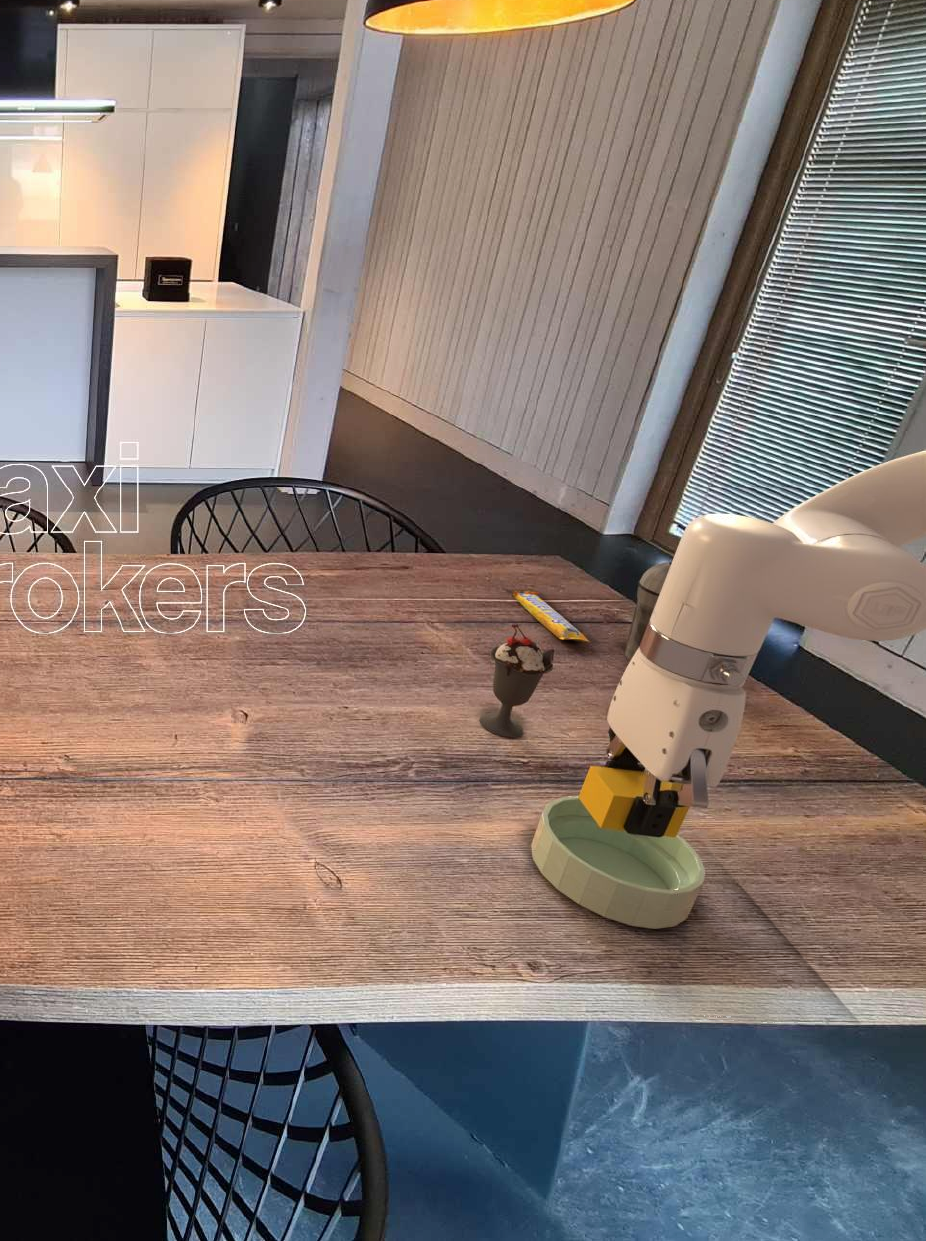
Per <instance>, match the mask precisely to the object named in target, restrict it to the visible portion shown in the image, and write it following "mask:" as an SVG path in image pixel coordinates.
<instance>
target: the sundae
mask: <svg viewBox="0 0 926 1241" xmlns="http://www.w3.org/2000/svg"><path fill="white" fill-rule="evenodd" d="M511 627H512V628H513V629H514V630H515V632H514V634H513V636H512V637H508V638H507V640H506V643H503V644H502V645H497V646H495V647H493V648H492V650H491V651H490V659H491V660H493V661H494V674H493V680H492V681H493V682H492V692H493V695H494V696H495V697H496V699H497V700H498V701H499V702H500V703H501V706H500V710H499V712H498V714H495V713H487V714H484V715H481V716H480V718H479V723H480V725H481V726H482V727H483V728H484V729H485V730H487V731H488V732H490V733H492V734H495V735H498V736H500V737H504V738H508V739H509V738H512V739H513V738H519V737H521V736H523V734H524V729H523V727H522V726H521V725H520V724H519V723H518V722H517V721H515V720H514V719H512V718H511V715H512V710H513V708H514V707H518V706H522V705H524V704H526V703H528V702H529V700H530V699H531V697H532V696H533V694H534V693H535V690H536V689H537V687H538V685H539V683H540V682H541V679H542V677H543V676H544V675H545V674H548V673H550V672H552V671H553V667H554V664H553V663H552V662H553V660H554V658H555V657H554V656H555V655H554V654H555V649H554V648H550V649H549V650H547V651H544V652H543V649H542V648H541V646H540V645H538V643H537V642H535V641H533V640H532V639H531V638H529V637H527V636H525V634H524V633H523V632H522V630H521V629H520V627H519V624H514V623H513V624H511ZM517 631H519V632H520V634H521V635H522V638H520V639H518V638H516V636H517V633H518V632H517Z"/></svg>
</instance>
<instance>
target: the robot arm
mask: <svg viewBox="0 0 926 1241" xmlns="http://www.w3.org/2000/svg"><path fill="white" fill-rule="evenodd" d="M923 537H926V450H921V451H918V452H915V453H911V454H907V455H904V456H901V457H898V458H895V459H891V460H888V461H886V462H883V463H881V464H880V463H879V464H877V465H875V466H873V467H870V468H867V469H865V470H863V471H860V472H858V473H856V474H854V475H852V476H850V477H848V478H845V479H844V480H842V481H839V482H838V483H836V484H834V485H832V486H831V487H829V488H827V489H825V490H823V491H821V492H820V493H817V494H816V495H814V496H812V497H810V498H808V499H806V500H805V501H803V502H801V503H799V504H798V505H796V506H795V507H793V508H791V509H789V510H788V511H787V512H785V513H784V514H782V515H781V516H780V517H778V518H777V519H776V520H775V521H774V522H770V521H767V520H763V519H759V518H755V517H751V516H745V515H740V514H731V513H708V514H704V515H701V516H698V517H696V518H694V519H693V520H691V521H690V522H689V523H688V524H687V525H686V527H685V529H684V531H683V533H682V535H681V538H680V540H679V543H678V545H677V547H676V551H675V553H674V556H673V559H672V561H671V562H672V564H671V566H670V569H669V571H668V574H667V577H666V579H665V582H664V584H663V587H662V589H661V592H660V595H659V597H658V600H657V602H656V605H655V608H654V610H653V613H652V616H651V618H650V620H649V623H648V626H647V628H646V631H645V633H644V636H643V639H642V641H641V644H640V647H639V648H638V650H637V651H636V653H635V654H634V656H633V658H632V659H631V660H629V663H628V665H627V666H626V668H625V671H624V672H623V674H622V675H621V678H620V680H619V682H618V684H617V686H616V689H615V692H614V694H613V696H612V698H611V702H610V705H609V706H607V707H606V709H605V716H606V719H607V723H608V726H609V729H608V731H607V732H608V736H609V745H608V746H607V747H606V749H605V756H606V758H607V760H606V762H605V765H604V767H606V768H615V769H623V770H632V771H641V772H646V770H647V772H648V773H647V778H646V782H645V787H644V792H643V797H641V796H636V798H635V800H634V803H633V805H632V808H631V810H630V812H629V815H628V817H627V820H626V822H625V824H624V829H625V831H626V832H627V833H628V834H635V835H643V836H651V837H662V836H664V834H665V832H666V829H667V827H668V825H669V823H670V820H671V818H672V816H673V814H674V811H675V809H676V808H680V809H681V808H683V807H687V806H689V808H700V809H707V808H709V804H710V802H709V790H708V789H709V788H713V789H714V788H716V787H718V785H719V784H720V782H721V780H722V778H723V777H724V774H725V772H726V769H727V767H728V765H729V763H730V759H731V757H732V754H733V752H734V748H735V745H736V744H737V739H738V736H739V733H740V730H741V727H742V723H743V719H744V718H743V717H744V713H745V707H746V700H747V699H746V698H747V691H746V690H745V689H744V688H743V687H744V685H745V683H746V681H747V678H748V676H749V674H750V672H751V670H752V668H753V665H754V663H755V661H756V658H757V656H758V654H759V651H760V650H761V648H762V646H763V644H764V641H765V639H766V637H767V635H768V632H769V630H770V628H771V627H772V624H773V621H774V619H781V620H783V621H787V622H790V623H794V624H798V625H802V626H805V627H808V628H811V629H814V630H818V631H821V632H823V633H824V632H825V633H828V634H832V635H835V636H840V637H844V638H848V639H854V640H859V641H870V642H871V641H872V642H874V641H875V642H885V641H894V640H901V639H905V638H908V637H911V636H914V635H917V634H920V633H921V632H923V631H925V630H926V565H925V564H924V563H923V562H922V561H920V560H919V559H918V558H916V557H914V556H913V555H911V554H910V553H908V552H907V551H905V550H903V549H902V548H901V547H903V546H906V545H907V544H909V543H912V542H914V541H916V540H919V539H921V538H923ZM662 781H663V782H671V783H672V787H671V790H663V791H660V786H661V782H662Z"/></svg>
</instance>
